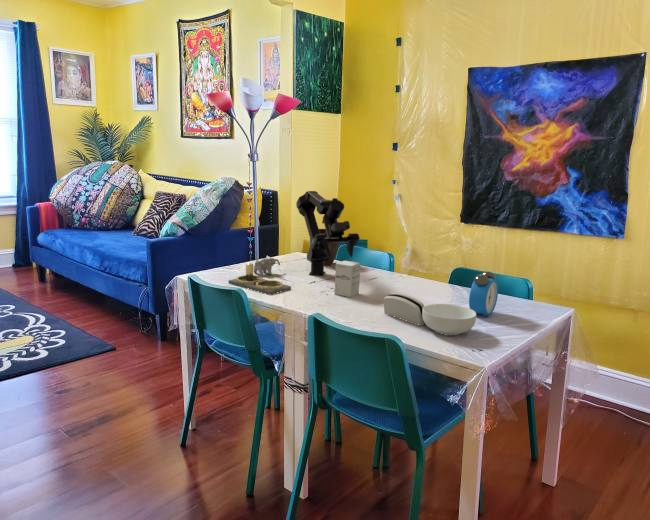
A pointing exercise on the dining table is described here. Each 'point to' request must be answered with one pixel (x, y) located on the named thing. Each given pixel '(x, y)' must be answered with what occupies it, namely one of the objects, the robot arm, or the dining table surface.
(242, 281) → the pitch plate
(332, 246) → the plant pot
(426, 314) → the cereal bowl
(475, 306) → the alarm clock
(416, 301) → the napkin holder
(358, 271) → the supplement box
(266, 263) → the gray elephant figurine
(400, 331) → the dining table surface
